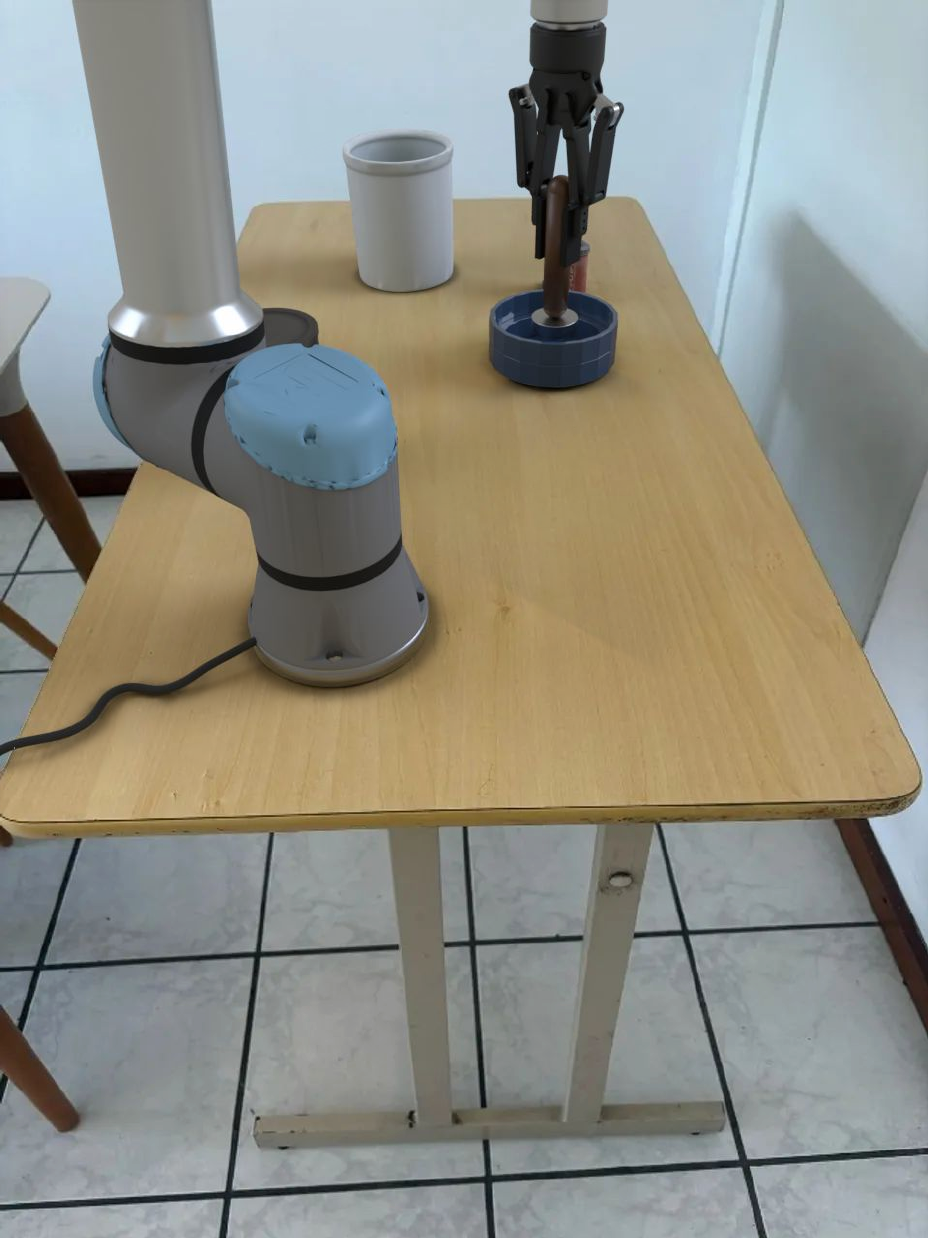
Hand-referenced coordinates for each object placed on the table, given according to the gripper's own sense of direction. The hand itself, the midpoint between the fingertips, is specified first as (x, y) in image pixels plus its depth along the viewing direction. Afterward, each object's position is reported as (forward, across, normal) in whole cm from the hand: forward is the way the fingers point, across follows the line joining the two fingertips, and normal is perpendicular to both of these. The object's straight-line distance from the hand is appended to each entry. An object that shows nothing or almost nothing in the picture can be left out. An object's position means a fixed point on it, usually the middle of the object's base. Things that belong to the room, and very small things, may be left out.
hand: (557, 258), depth 110 cm
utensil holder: (+13, +33, -8) cm, 36 cm away
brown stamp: (+9, 0, 0) cm, 9 cm away
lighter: (+13, +11, -17) cm, 24 cm away
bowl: (+13, 0, 0) cm, 13 cm away
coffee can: (+13, +9, +35) cm, 39 cm away
